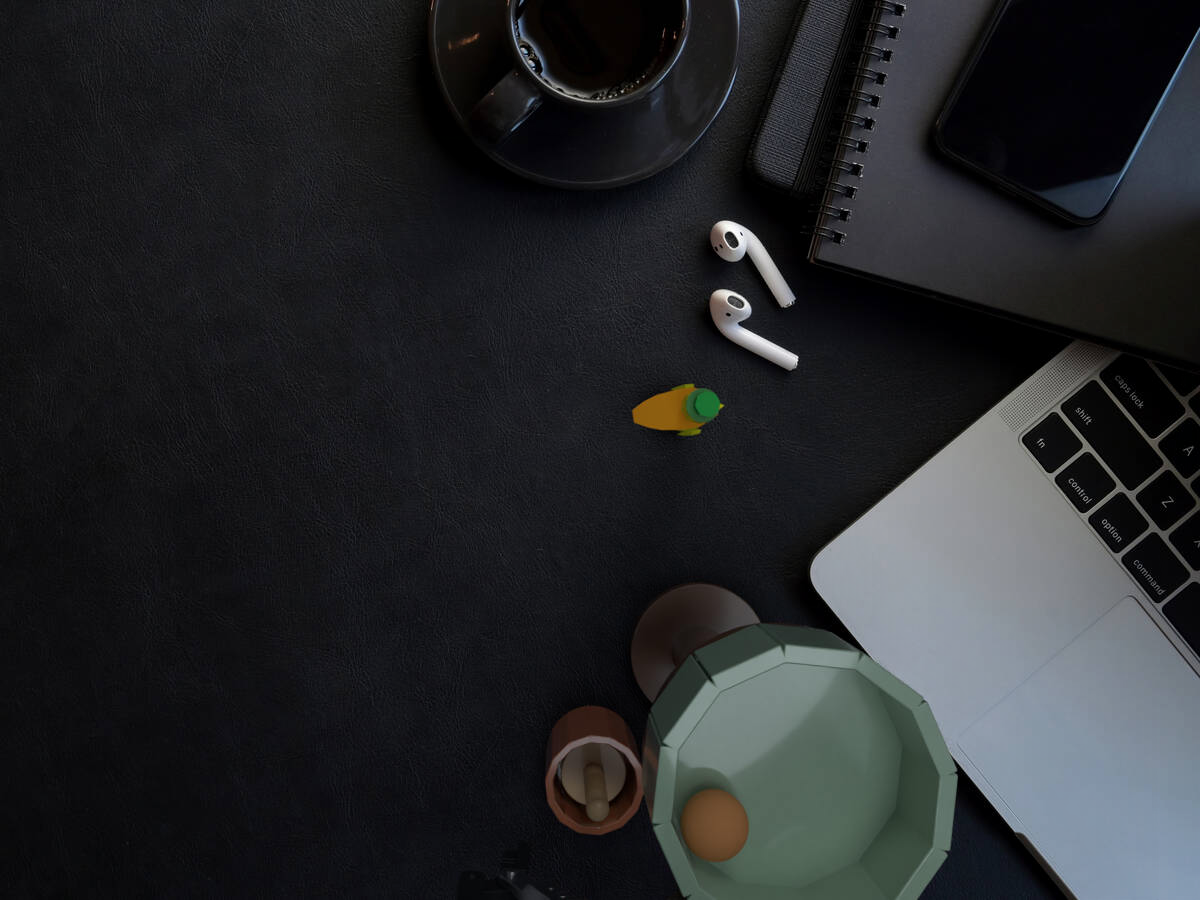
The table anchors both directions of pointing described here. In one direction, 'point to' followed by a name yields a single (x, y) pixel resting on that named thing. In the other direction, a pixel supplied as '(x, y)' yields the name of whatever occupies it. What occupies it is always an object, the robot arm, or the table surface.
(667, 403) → the toy figure
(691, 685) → the green bowl
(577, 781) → the beige plunger
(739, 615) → the brown pedestal stand
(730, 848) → the ball
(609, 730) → the holder
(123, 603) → the table surface
